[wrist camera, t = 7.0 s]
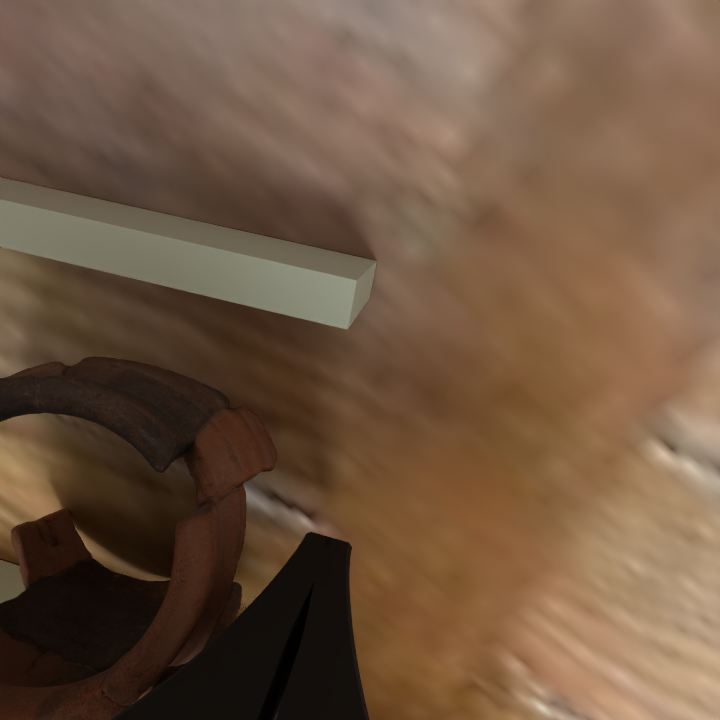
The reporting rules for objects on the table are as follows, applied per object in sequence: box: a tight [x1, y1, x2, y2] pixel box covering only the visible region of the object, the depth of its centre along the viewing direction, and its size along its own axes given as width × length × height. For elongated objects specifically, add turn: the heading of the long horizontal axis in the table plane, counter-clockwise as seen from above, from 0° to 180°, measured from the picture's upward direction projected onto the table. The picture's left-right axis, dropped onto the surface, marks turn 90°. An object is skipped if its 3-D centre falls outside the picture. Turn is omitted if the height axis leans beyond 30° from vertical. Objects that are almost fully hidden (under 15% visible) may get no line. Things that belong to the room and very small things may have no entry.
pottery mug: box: [0, 357, 277, 720], centre depth 12 cm, size 12×10×8 cm
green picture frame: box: [0, 177, 377, 719], centre depth 13 cm, size 16×17×3 cm
